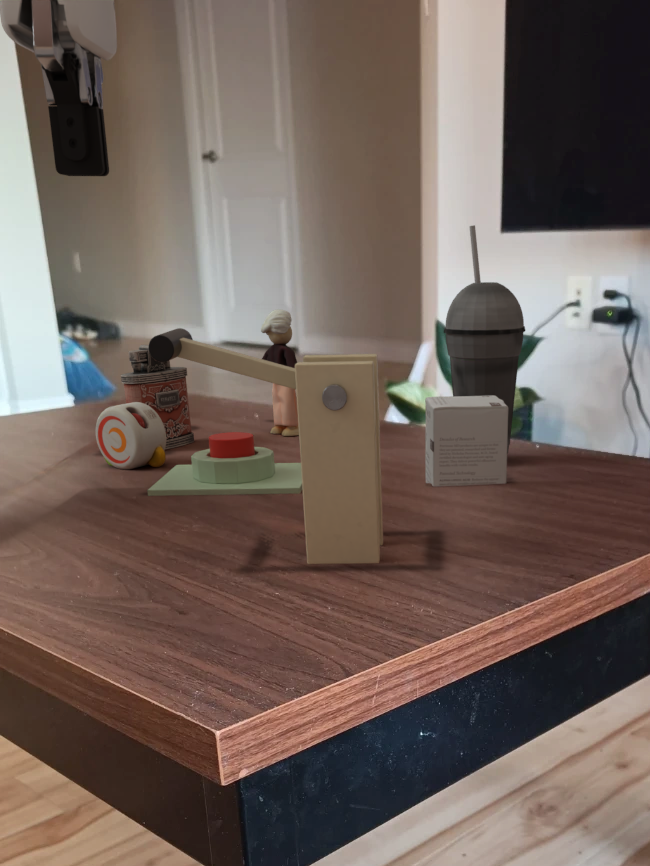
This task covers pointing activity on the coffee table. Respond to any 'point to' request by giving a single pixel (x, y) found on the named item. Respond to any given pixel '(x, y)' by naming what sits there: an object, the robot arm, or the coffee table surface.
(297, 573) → the coffee table surface
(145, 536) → the coffee table surface
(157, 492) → the button block
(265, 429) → the coffee table surface
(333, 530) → the lever bracket
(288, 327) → the grandmother figurine
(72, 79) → the robot arm
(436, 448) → the product carton
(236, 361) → the lever
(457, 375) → the beverage cup
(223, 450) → the button
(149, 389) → the lighter
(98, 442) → the roller toy
